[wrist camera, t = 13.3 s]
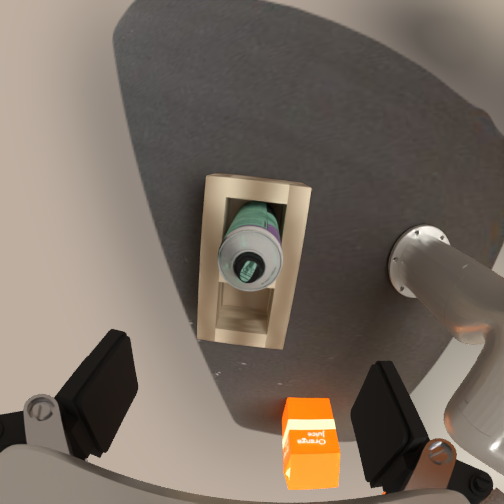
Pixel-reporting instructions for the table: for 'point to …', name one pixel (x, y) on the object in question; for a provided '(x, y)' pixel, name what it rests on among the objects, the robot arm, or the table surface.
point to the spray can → (251, 248)
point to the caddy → (238, 301)
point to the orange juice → (310, 444)
